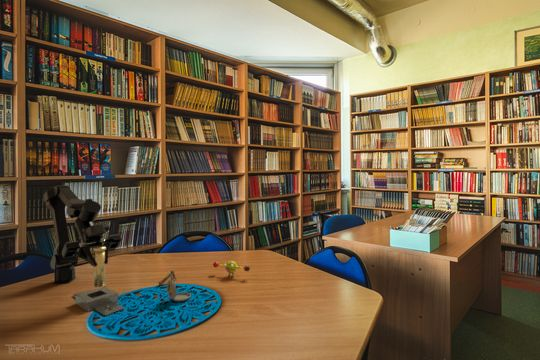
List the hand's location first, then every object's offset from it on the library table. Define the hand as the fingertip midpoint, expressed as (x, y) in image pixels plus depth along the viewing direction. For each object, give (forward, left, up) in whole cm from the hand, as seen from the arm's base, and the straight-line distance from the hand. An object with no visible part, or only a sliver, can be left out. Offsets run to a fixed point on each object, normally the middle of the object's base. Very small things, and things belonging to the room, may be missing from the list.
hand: (101, 264), depth 109 cm
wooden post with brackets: (+19, +17, -14) cm, 29 cm away
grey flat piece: (-2, 0, -13) cm, 14 cm away
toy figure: (+45, +21, -14) cm, 52 cm away
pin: (-1, +1, -8) cm, 8 cm away
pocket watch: (+26, -1, -14) cm, 30 cm away
